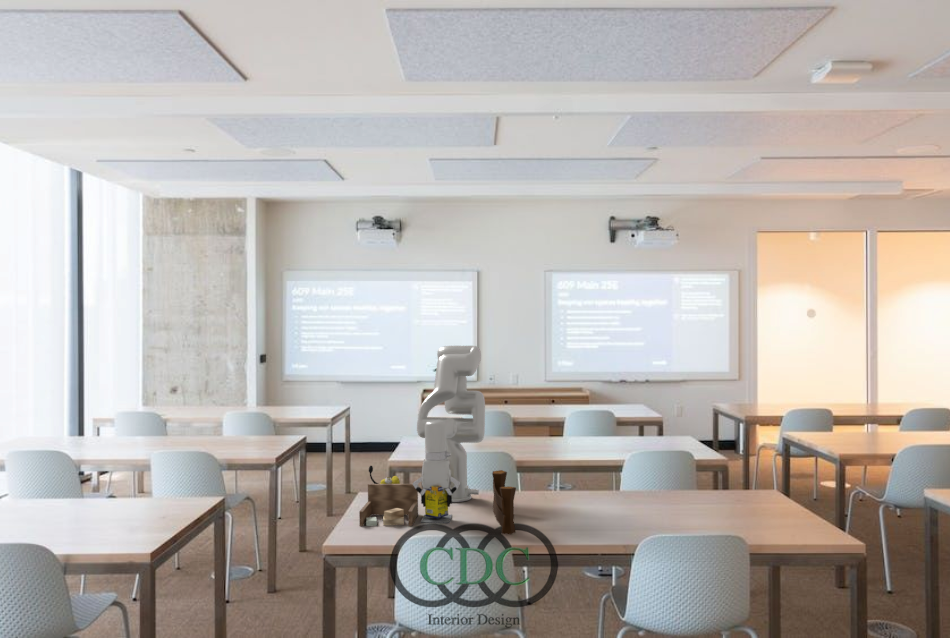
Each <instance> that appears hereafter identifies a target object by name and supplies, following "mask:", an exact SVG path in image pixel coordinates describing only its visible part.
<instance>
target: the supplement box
mask: <svg viewBox="0 0 950 638" xmlns="http://www.w3.org/2000/svg"><path fill="white" fill-rule="evenodd" d="M447 495H448V493H447V491H446V490H445V489H443V488H442V487H441V486H430V488H429V489H427V490H426V491H425V507H424V511H425V513H424V515H425V516H426V517H432V518H437V519H438V518H441V517H444V516H447V515H449V507H448V506H447Z"/></svg>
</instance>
